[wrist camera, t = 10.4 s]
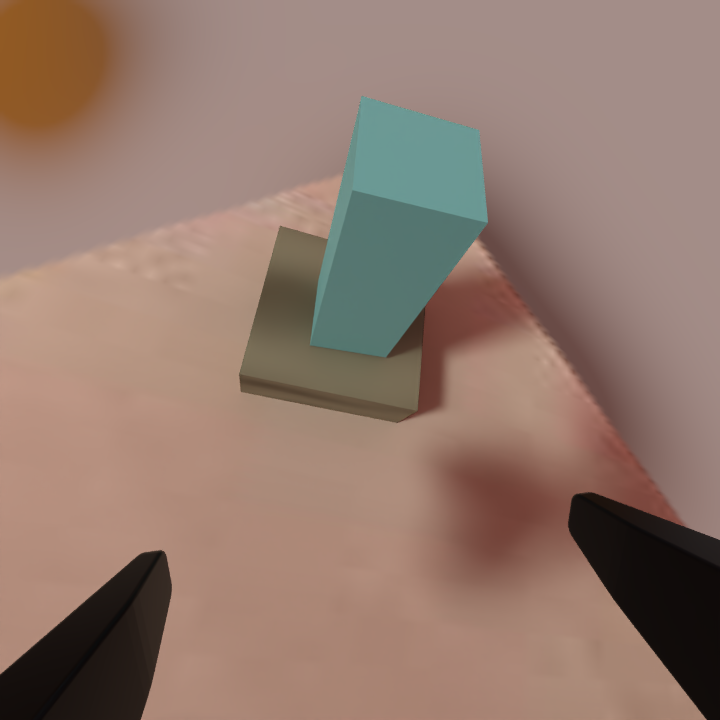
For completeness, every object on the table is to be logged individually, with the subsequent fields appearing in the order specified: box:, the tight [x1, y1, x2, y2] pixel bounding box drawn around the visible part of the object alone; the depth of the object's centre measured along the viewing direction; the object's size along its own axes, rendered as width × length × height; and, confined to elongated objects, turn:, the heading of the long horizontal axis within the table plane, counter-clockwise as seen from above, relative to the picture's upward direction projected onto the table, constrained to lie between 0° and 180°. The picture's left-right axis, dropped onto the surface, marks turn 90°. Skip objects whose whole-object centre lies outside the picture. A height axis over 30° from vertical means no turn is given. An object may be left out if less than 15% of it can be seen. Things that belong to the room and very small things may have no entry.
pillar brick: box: [310, 96, 488, 357], centre depth 16 cm, size 4×4×10 cm
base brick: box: [239, 226, 425, 423], centre depth 22 cm, size 9×9×4 cm
